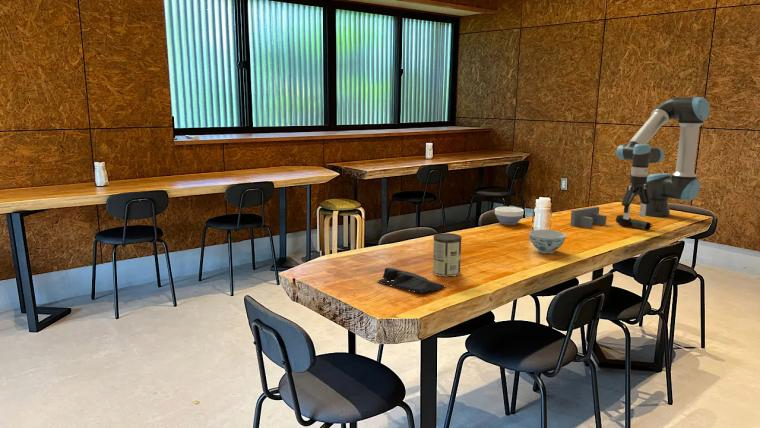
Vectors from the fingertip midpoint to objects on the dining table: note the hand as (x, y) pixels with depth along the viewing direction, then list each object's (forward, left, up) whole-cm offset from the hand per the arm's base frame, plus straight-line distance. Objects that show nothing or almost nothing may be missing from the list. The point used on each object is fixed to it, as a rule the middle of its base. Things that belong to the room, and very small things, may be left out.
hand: (634, 217), depth 275 cm
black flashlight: (-2, -3, -6) cm, 7 cm away
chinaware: (+71, +5, -6) cm, 71 cm away
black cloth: (+144, +8, -6) cm, 145 cm away
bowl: (+45, -41, -6) cm, 61 cm away
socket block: (+12, -17, -6) cm, 21 cm away
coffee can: (+126, +5, -6) cm, 126 cm away
